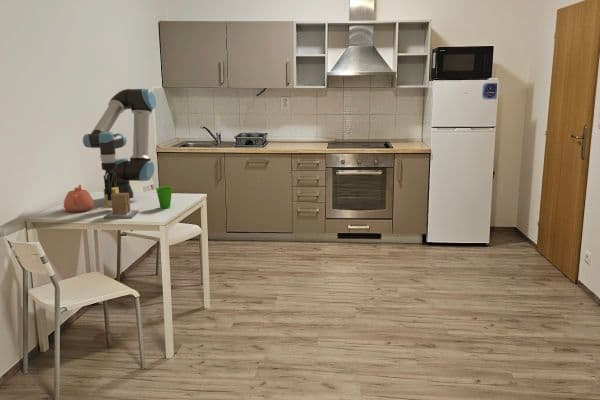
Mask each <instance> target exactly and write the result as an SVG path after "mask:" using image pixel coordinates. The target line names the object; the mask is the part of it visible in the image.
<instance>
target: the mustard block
mask: <svg viewBox="0 0 600 400" xmlns="http://www.w3.org/2000/svg"><path fill="white" fill-rule="evenodd" d="M108 192H109V191H108ZM115 193H119V188H118V187H112V195H113V194H115ZM103 196H104V207H105V209H112V206H108V202H107V194H105V188H104V189H103Z"/></svg>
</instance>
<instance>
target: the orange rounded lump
mask: <svg viewBox="0 0 600 400" xmlns="http://www.w3.org/2000/svg"><path fill="white" fill-rule="evenodd" d="M73 189H74V190H69V191H68V192H67V194H66V195H65V198H64V201H63V209H64V210H65V211H67V212H71V213H75V212H77V213H79V212H87V211H90V210H91V209H92V208H93V206H94V203H95V202H94V199H93V197H92V196H91V194H90V193H89V192H88V190H87V189H83V188H82V185H81V184H78V186H77V187H74V188H73Z"/></svg>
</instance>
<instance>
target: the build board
mask: <svg viewBox="0 0 600 400" xmlns="http://www.w3.org/2000/svg"><path fill="white" fill-rule="evenodd" d="M139 212H140V211H139V209H138V210H137V209H136V210H135V209H134V210H133V209H132V210H131V209H130V212H129V213H128V214H127V215H113V211H112V210H111V211H110V212H108V213H106V215H104V216H103V220H111V219H113V220H115V219H116V220H117V219H118V220H119V219H123V220H124V218H125V219H126V218H127V219H133V218H134V217H135V216H136V215H137V214H138V213H139Z"/></svg>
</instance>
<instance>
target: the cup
mask: <svg viewBox="0 0 600 400" xmlns="http://www.w3.org/2000/svg"><path fill="white" fill-rule="evenodd" d="M173 188H174V187H172V186H159V187H156V188H155V190H156V194H157V198H158V203H159V207H160V209H162V210H163V209H164V210H166V209H170V208H171V203H172V195H173V194H172V193H173Z"/></svg>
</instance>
